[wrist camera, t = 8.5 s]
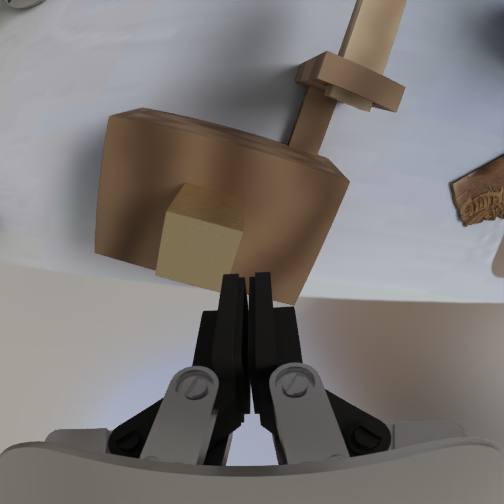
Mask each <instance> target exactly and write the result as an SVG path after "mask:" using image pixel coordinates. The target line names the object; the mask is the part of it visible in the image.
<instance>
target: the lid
mask: <svg viewBox="0 0 504 504" xmlns="http://www.w3.org/2000/svg"><path fill="white" fill-rule="evenodd" d="M349 183H350V181H349V180H348V179H347V178H346V177H343V176H340V175H338V174H335V173H332V172H329V171H327V170H324V169H321V168H318V167H315V166H312V165H309V164H306V163H303V162H300V161H297V160H294V159H291V158H288V157H285V156H282V155H279V154H275V153H272V152H269V151H266V150H262V149H259V148H256V147H252V146H249V145H245V144H242V143H238V142H235V141H231V140H227V139H223V138H220V137H216V136H212V135H208V134H204V133H200V132H196V131H192V130H188V129H184V128H179V127H175V126H170V125H166V124H161V123H157V122H152V121H147V120H142V119H137V118H132V117H126V116H121V115H112V116H109V120H108V126H107V131H106V138H105V144H104V150H103V157H102V165H101V173H100V182H99V191H98V202H97V215H96V231H95V253H97V254H101V255H104V256H108V257H111V258H114V259H118V260H121V261H125V262H128V263H132V264H135V265H139V266H142V267H146V268H149V269H153V270H156V274H155V275H157V276H160V277H164V278H168V279H171V280H175V281H179V282H182V283H186V284H190V285H194V286H198V287H201V288H205V289H209V290H213V291H217V292H221V286H222V279H223V274H237V273H239V277H245V282H246V292H247V294H248V295H249V277H255V272H270V273H271V287H272V300H273V301H277V302H282V303H286V304H290V305H295V303H296V300H297V299H298V297H299V295H300V292H301V290H302V288H303V286H304V284H305V282H306V280H307V278H308V276H309V274H310V271H311V269H312V267H313V265H314V263H315V261H316V258H317V256H318V254H319V252H320V250H321V247H322V245H323V243H324V241H325V239H326V236H327V234H328V232H329V230H330V227H331V225H332V223H333V221H334V218H335V216H336V214H337V211H338V209H339V207H340V204H341V202H342V200H343V197H344V195H345V193H346V190H347V188H348V185H349Z"/></svg>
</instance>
